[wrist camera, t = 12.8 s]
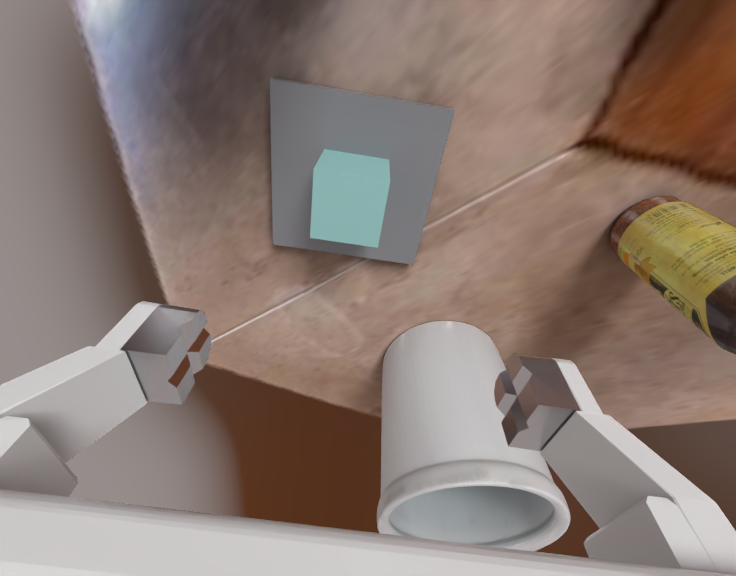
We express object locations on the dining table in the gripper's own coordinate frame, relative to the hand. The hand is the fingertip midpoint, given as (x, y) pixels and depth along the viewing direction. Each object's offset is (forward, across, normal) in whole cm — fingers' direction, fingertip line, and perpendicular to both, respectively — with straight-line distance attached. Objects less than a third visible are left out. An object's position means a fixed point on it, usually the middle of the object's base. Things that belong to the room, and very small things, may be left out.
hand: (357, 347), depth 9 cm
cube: (+20, +2, +3) cm, 21 cm away
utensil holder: (+22, -11, +23) cm, 34 cm away
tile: (+22, +2, +3) cm, 22 cm away
